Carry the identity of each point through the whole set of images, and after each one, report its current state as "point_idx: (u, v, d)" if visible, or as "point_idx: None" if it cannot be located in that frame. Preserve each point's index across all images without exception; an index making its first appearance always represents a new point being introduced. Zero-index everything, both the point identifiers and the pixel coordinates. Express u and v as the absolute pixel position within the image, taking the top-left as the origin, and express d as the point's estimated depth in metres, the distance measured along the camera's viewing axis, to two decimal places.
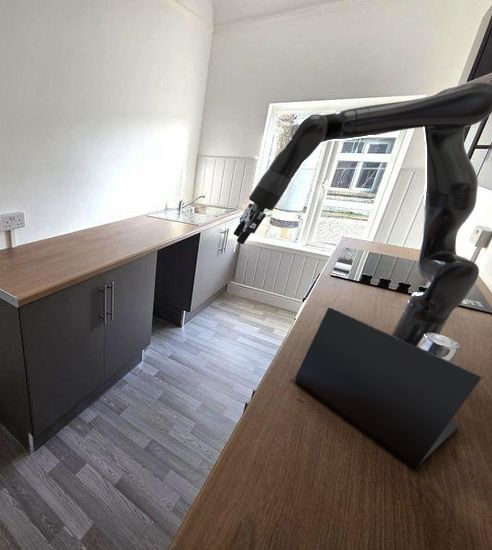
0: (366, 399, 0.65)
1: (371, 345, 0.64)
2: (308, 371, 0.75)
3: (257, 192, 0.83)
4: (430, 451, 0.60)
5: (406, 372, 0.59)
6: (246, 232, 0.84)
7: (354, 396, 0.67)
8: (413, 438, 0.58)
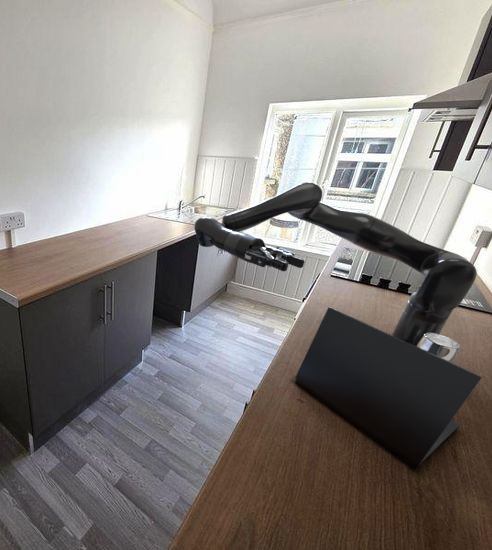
0: (366, 399, 0.65)
1: (371, 345, 0.64)
2: (308, 371, 0.75)
3: (241, 258, 0.87)
4: (430, 451, 0.60)
5: (406, 372, 0.59)
6: (270, 264, 0.76)
7: (354, 396, 0.67)
8: (413, 438, 0.58)
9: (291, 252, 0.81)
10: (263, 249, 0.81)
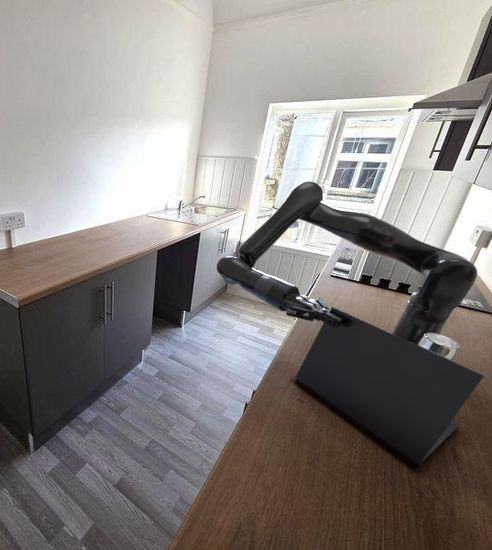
0: (367, 398, 0.65)
1: (374, 345, 0.65)
2: (309, 371, 0.75)
3: (273, 306, 0.81)
4: (430, 451, 0.60)
5: (408, 371, 0.60)
6: (319, 318, 0.70)
7: (355, 395, 0.67)
8: (414, 437, 0.58)
9: (325, 306, 0.73)
10: (299, 300, 0.74)
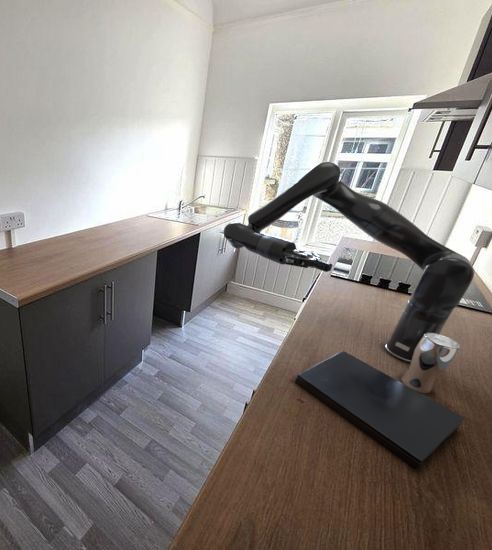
0: (371, 406, 0.69)
1: (378, 379, 0.77)
2: (314, 375, 0.78)
3: (273, 260, 0.93)
4: None
5: (408, 400, 0.71)
6: (313, 265, 0.83)
7: (359, 401, 0.70)
8: (416, 441, 0.61)
9: (318, 256, 0.86)
10: (296, 252, 0.87)
